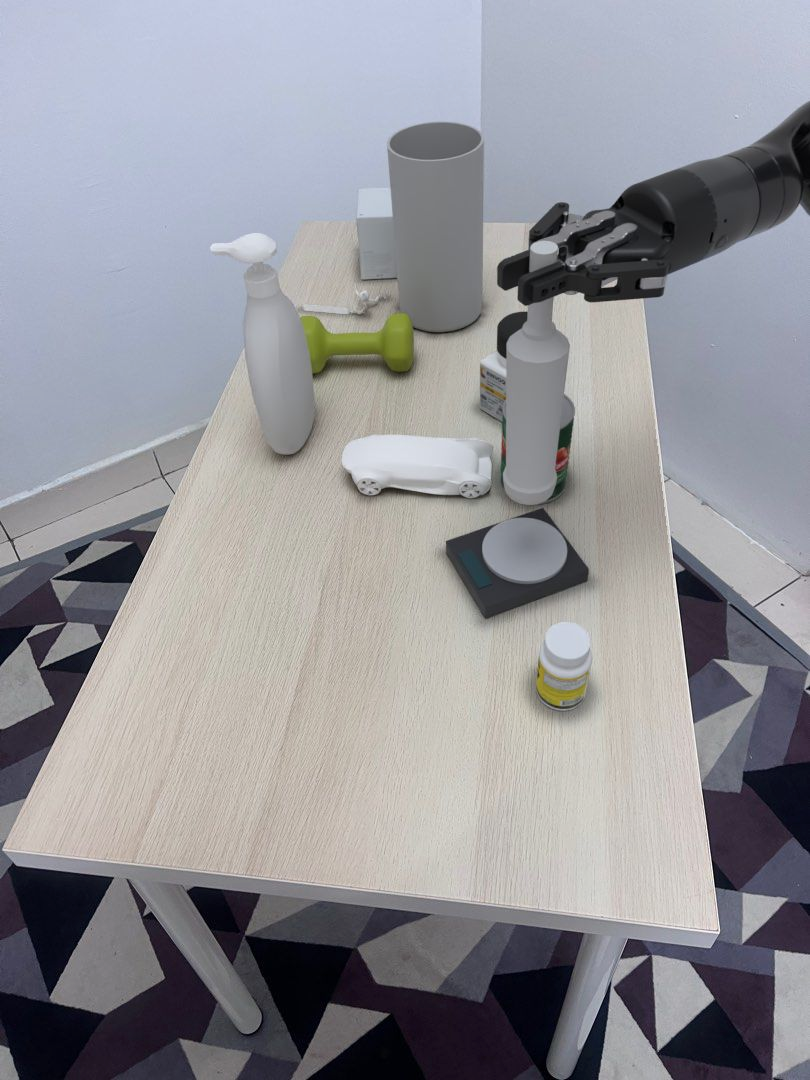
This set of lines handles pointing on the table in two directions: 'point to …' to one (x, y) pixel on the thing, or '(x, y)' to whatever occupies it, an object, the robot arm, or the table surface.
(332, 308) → the action figure
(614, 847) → the table surface
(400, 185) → the cylinder vase
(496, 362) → the container
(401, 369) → the dumbbell
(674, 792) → the table surface
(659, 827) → the table surface
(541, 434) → the bottle
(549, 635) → the supplement bottle
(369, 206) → the cosmetics box
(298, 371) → the soap bottle
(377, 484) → the toy car
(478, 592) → the scale
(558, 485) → the canned tomato
